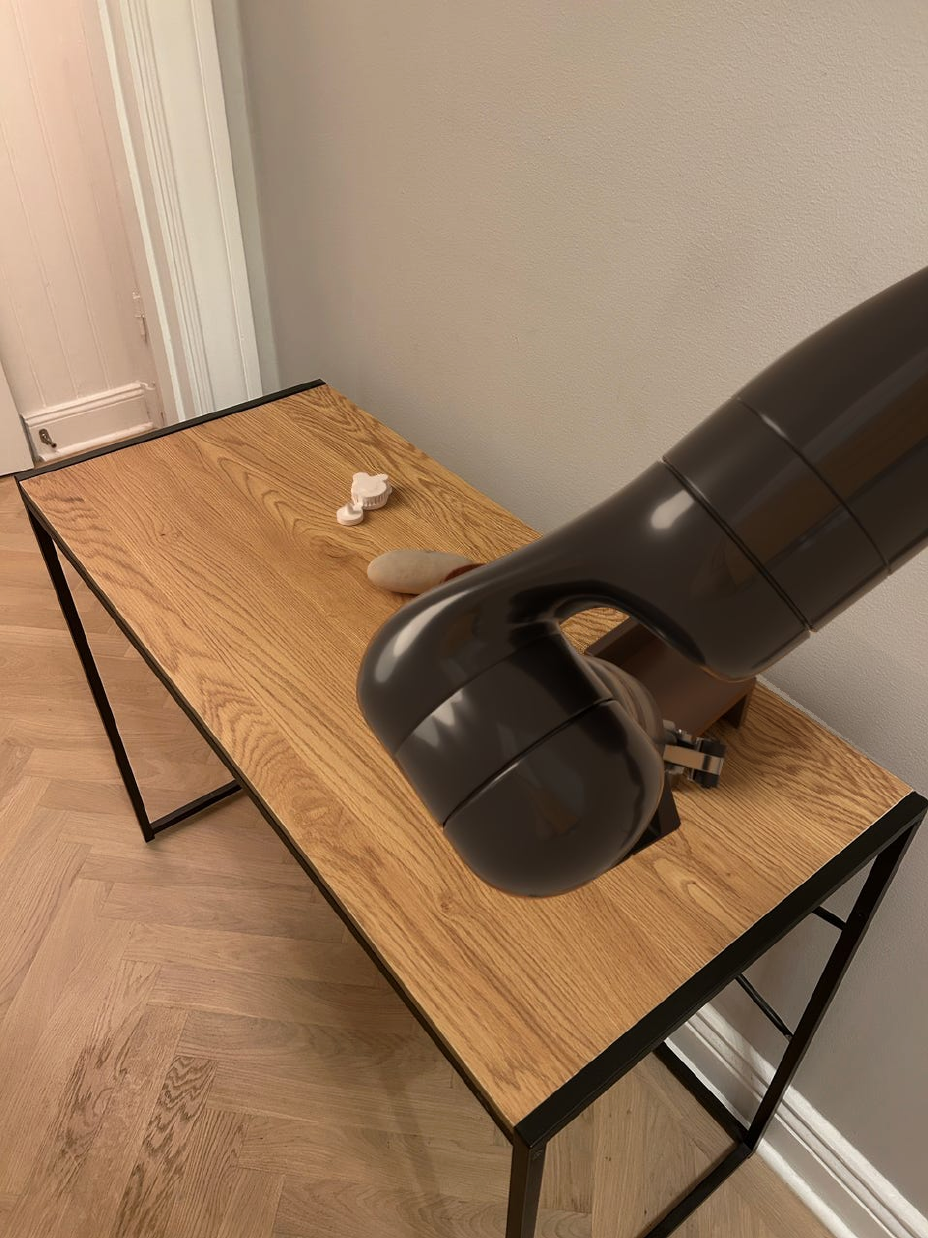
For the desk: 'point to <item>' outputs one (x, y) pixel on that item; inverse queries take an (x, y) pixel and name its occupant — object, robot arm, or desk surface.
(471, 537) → the desk surface
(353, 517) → the white rounded lumpy shapes
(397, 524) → the desk surface
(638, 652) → the shelf
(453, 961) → the desk surface
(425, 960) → the desk surface
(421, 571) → the stone
